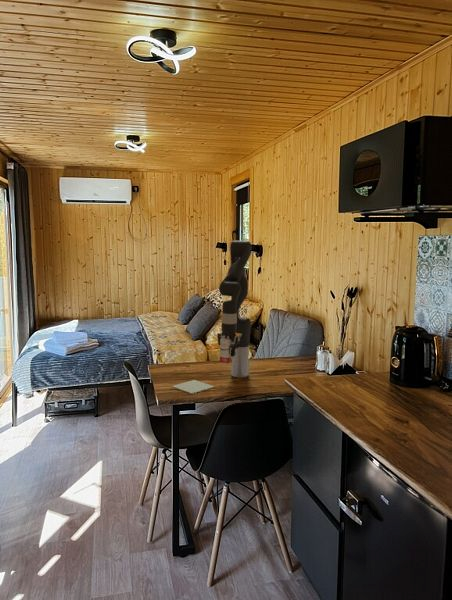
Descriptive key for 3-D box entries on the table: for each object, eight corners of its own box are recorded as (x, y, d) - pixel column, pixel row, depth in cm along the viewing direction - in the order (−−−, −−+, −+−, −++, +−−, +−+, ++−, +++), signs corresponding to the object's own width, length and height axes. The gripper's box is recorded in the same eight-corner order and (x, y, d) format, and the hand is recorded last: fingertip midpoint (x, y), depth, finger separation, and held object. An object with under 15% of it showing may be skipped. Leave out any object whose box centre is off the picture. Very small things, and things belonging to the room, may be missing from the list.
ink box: (227, 363, 229) (228, 340, 227) (219, 362, 231) (219, 338, 230) (236, 360, 236) (237, 337, 235) (228, 358, 239) (229, 335, 237)
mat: (194, 380, 250) (194, 379, 250) (214, 387, 240) (214, 386, 240) (171, 387, 238) (171, 386, 238) (192, 394, 228) (192, 393, 228)
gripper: (245, 323, 229) (244, 356, 231) (223, 319, 239) (222, 351, 241) (235, 324, 224) (234, 359, 226) (213, 320, 233) (212, 353, 235)
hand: (228, 355), depth 233 cm, fingers closed on ink box, 5 cm apart
